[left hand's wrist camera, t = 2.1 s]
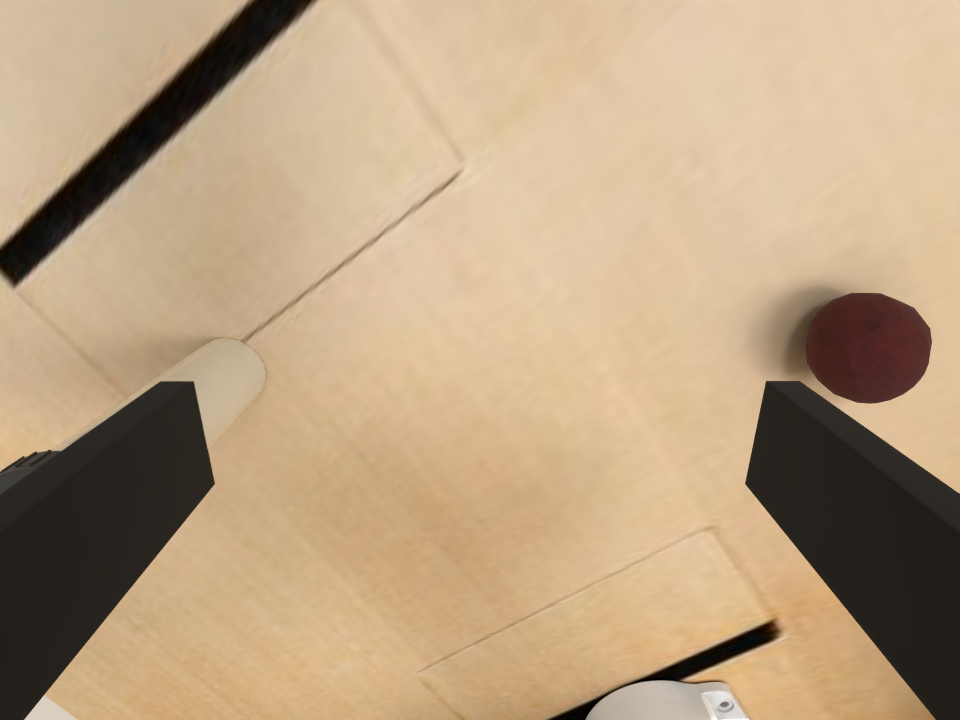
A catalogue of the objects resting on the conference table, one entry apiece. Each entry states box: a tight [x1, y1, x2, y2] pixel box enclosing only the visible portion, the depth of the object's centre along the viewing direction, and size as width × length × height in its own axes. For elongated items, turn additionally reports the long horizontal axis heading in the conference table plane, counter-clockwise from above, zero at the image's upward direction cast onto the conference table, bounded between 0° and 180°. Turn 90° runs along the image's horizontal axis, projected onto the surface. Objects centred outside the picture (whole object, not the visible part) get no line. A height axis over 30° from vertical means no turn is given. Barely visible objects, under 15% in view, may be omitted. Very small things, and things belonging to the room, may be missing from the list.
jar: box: [51, 338, 266, 451], centre depth 33 cm, size 6×6×19 cm
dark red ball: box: [806, 293, 932, 403], centre depth 38 cm, size 7×8×7 cm
